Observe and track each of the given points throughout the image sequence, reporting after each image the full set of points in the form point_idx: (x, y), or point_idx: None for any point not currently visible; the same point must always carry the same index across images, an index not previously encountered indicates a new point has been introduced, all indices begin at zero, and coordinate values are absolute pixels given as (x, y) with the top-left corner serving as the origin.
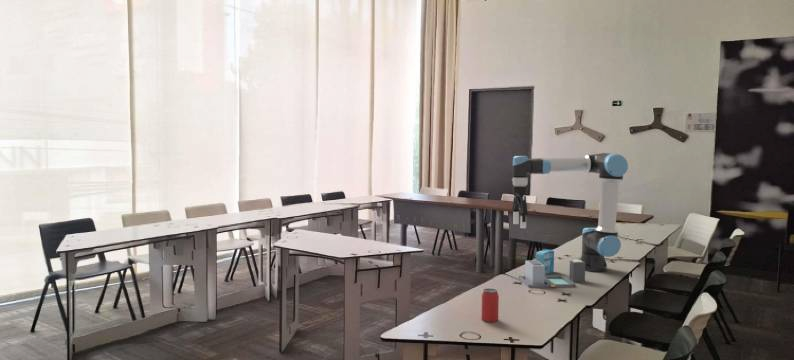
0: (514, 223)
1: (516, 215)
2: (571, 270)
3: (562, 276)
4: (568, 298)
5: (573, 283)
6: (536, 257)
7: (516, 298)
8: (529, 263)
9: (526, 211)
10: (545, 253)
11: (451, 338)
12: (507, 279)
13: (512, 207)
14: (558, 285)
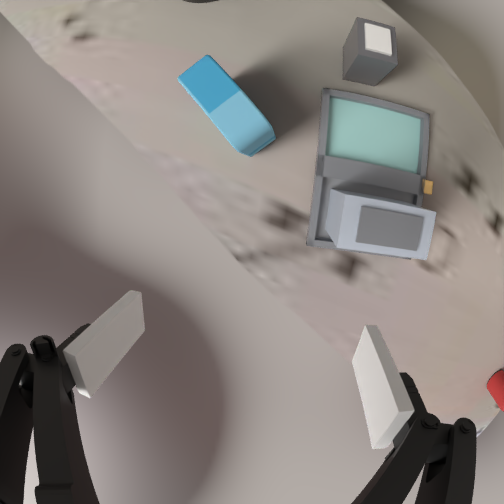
0: (141, 326)
1: (102, 353)
2: (367, 70)
3: (336, 94)
4: (492, 199)
5: (420, 112)
6: (245, 151)
7: (456, 318)
8: (388, 254)
9: (469, 454)
10: (258, 109)
11: (497, 413)
12: (303, 281)
13: (24, 395)
14: (425, 166)
